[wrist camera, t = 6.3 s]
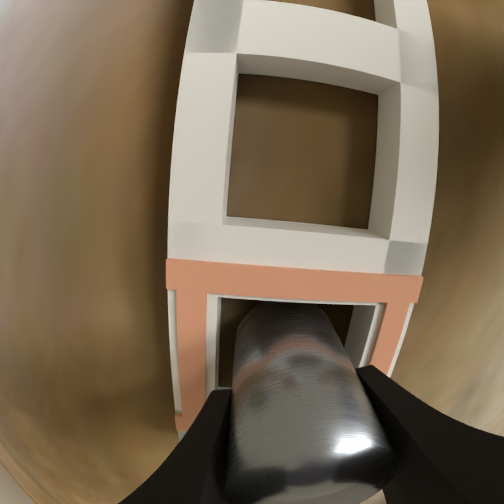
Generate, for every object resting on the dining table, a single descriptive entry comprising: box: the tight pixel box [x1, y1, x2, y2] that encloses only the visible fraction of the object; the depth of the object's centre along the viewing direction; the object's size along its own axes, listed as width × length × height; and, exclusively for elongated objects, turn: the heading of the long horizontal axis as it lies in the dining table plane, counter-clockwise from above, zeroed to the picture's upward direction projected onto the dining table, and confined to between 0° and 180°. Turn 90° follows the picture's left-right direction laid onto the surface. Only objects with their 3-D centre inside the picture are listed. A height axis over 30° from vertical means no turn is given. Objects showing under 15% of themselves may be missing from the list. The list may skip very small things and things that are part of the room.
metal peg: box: [225, 301, 398, 504], centre depth 8 cm, size 4×4×7 cm
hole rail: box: [166, 0, 439, 442], centre depth 9 cm, size 9×28×2 cm, turn 175°
